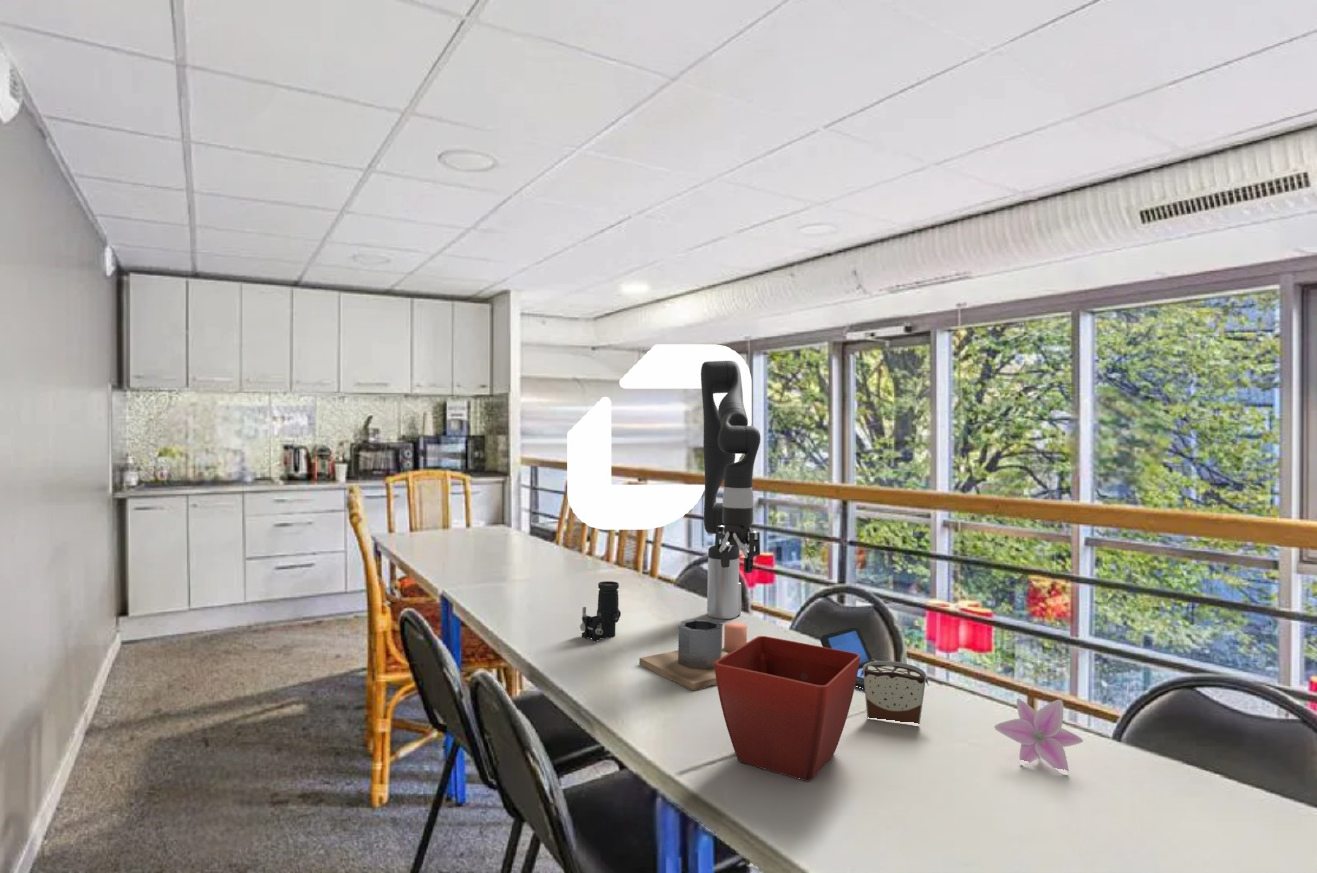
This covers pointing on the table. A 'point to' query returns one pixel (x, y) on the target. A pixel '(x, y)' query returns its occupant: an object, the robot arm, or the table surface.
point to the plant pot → (786, 703)
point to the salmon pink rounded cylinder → (734, 636)
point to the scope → (603, 613)
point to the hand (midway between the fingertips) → (736, 570)
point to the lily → (1040, 733)
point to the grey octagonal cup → (699, 644)
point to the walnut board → (679, 670)
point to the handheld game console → (849, 647)
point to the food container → (894, 690)
